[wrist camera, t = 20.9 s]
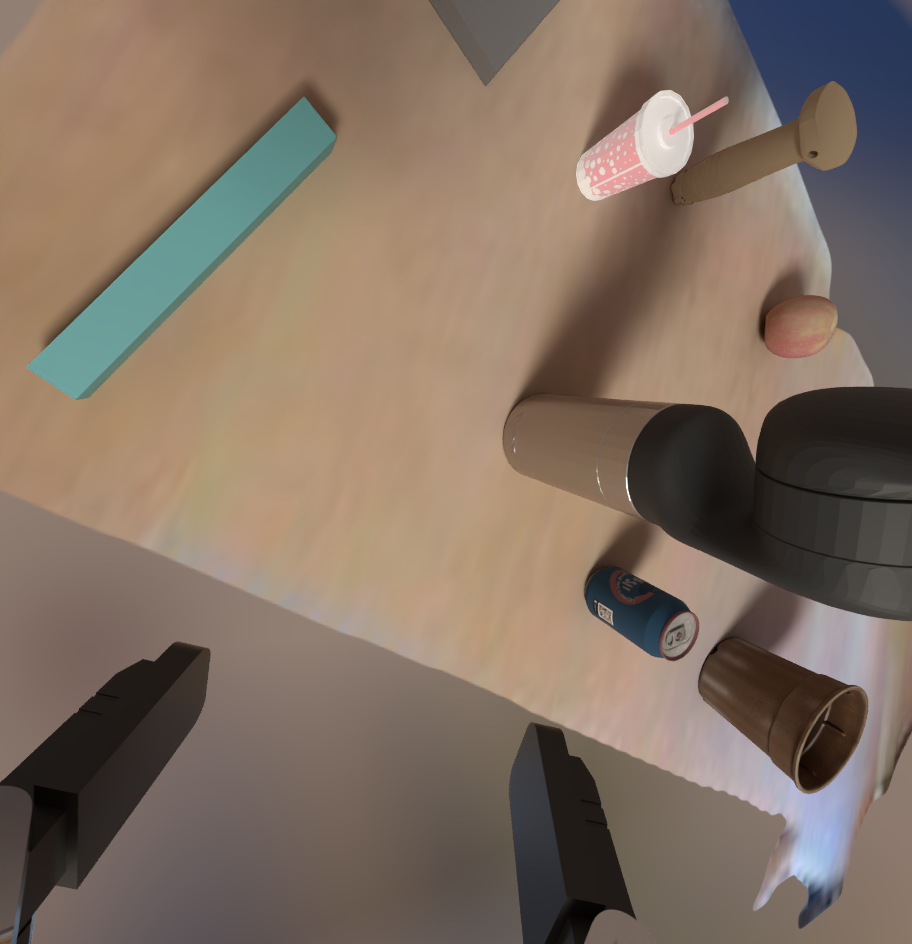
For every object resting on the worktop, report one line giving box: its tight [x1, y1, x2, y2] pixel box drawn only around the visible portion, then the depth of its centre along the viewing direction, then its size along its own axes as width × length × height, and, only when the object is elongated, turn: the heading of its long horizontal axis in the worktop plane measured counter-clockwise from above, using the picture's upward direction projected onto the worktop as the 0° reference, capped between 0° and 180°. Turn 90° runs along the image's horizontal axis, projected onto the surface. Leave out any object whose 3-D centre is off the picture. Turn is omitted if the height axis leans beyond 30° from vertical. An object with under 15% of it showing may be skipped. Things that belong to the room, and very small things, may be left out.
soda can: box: [584, 567, 699, 661], centre depth 52 cm, size 7×7×12 cm
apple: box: [764, 295, 838, 358], centre depth 57 cm, size 8×8×8 cm
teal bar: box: [26, 97, 337, 400], centre depth 31 cm, size 26×3×3 cm, turn 135°
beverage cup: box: [576, 90, 729, 201], centre depth 38 cm, size 6×6×14 cm
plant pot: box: [699, 638, 868, 794], centre depth 66 cm, size 16×16×16 cm
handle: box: [671, 81, 857, 205], centre depth 43 cm, size 5×6×15 cm
